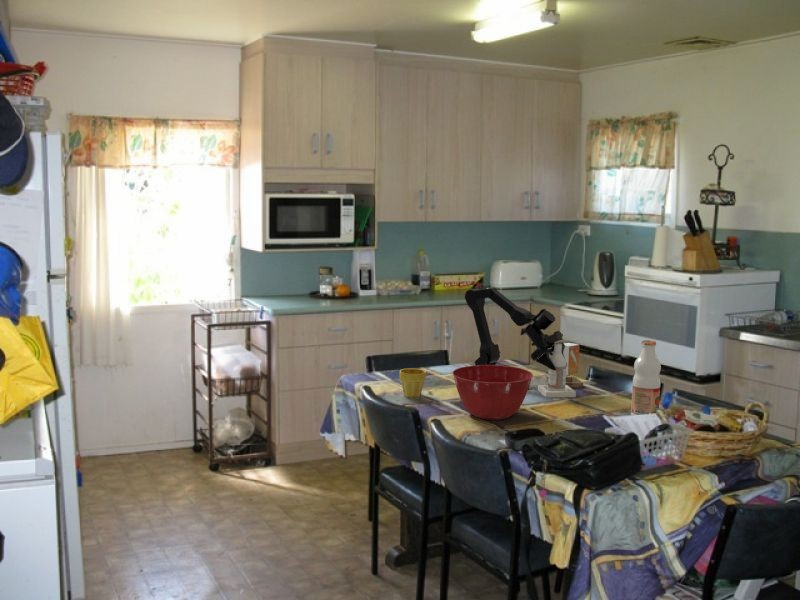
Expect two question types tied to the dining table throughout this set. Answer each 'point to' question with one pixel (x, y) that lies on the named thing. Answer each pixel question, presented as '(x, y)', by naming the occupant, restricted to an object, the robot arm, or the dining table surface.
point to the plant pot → (412, 381)
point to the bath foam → (557, 370)
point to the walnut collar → (572, 382)
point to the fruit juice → (646, 381)
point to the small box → (571, 357)
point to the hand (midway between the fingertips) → (560, 368)
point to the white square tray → (556, 392)
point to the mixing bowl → (492, 389)
